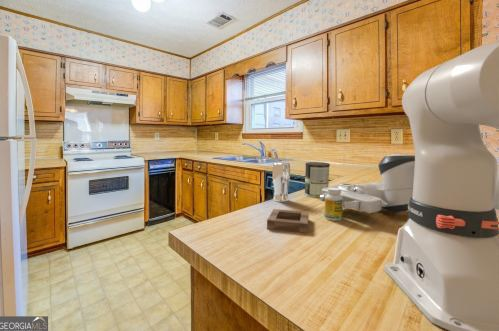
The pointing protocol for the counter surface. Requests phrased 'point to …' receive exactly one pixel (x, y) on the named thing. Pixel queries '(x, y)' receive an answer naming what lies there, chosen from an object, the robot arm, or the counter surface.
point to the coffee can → (316, 178)
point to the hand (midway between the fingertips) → (331, 201)
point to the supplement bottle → (333, 204)
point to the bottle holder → (288, 220)
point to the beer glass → (281, 181)
